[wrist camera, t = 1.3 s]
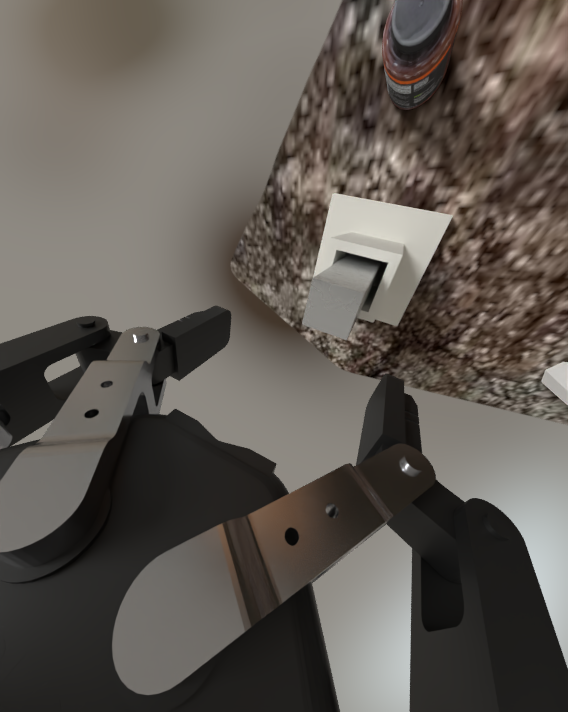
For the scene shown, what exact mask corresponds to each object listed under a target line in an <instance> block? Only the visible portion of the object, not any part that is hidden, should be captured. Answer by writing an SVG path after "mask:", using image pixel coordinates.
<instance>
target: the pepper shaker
mask: <svg viewBox="0 0 568 712" xmlns="http://www.w3.org/2000/svg"><path fill="white" fill-rule="evenodd" d="M541 382H542V383H543V384H544V385H545V386H546V387H547V388H549V389H550V390H551V391H552V392H553V393H554V394H555V395H556V396H558V397H559V398H560V399H561V400H562V401H563V402H564V403H565V404H567V405H568V362H562V363H560V364H557V365H555V366H553V367H551V368H549V369H547V370H545V373H544V375H543V378H542V381H541Z"/></svg>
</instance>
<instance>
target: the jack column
mask: <svg viewBox="0 0 568 712" xmlns="http://www.w3.org/2000/svg"><path fill="white" fill-rule="evenodd" d="M382 262H383V261H379V260H375V259H371V258H367V257H363V256H359V255H355V254H351V253H350V254H349V255H347V256H345V257H344V258H342V259H341V260H339V261H338V262H336V263H335V264H333V265H332V266H330V267H329V268H327V269H326V270H324V271H323V272H321V273H320V274H318V275H317V276H315V277H314V278H313V279H312V283H311V288H310V292H309V296H308V300H307V305H306V309H305V313H304V318H303V322H302V325H305V326H308V327H311V328H314V329H317V330H319V331H322V332H325V333H328V334H331V335H333V336H336V337H339V338H342V339H345V340H347V339H348V337H349V334H350V332H351V330H352V328H353V326H354V324H355V322H356V320H357V318H358V316H359V314H360V311H361V309H362V307H363V305H364V303H365V301H366V299H367V297H368V295H369V293H370V290H371V288H372V286H373V284H374V282H375V280H376V277H377V275H378V272H379V269H380V267H381V264H382Z"/></svg>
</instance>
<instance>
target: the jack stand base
mask: <svg viewBox="0 0 568 712" xmlns="http://www.w3.org/2000/svg"><path fill="white" fill-rule="evenodd" d="M452 217H453V215H448V214H443V213H437V212H432V211H427V210H421V209H416V208H411V207H405V206H400V205H395V204H389V203H384V202H379V201H373V200H368V199H363V198H357V197H352V196H347V195H341V194H336V193H333V195H332V199H331V203H330V207H329V212H328V216H327V220H326V225H325V229H324V233H323V238H322V242H321V246H320V250H319V255H318V259H317V263H316V268H315V272H314V276H313V278H314V277H315V276H317V275H318V274H320V273H321V272H323V271H324V270H326V269H327V268H329V267H330V266H332V265H333V264H335V263H336V262H338V261H339V260H341V259H342V258H344V257H345V256H347V255H349V254H350V253H351V254H355V255H359V256H363V257H367V258H371V259H375V260H379V261H383V262H382V264H381V267H380V269H379V272H378V275H377V277H376V280H375V282H374V284H373V286H372V288H371V290H370V293H369V295H368V297H367V299H366V301H365V303H364V305H363V307H362V309H361V311H360V314H359V316H358V318H360V319H363V320H366V321H369V322H372V323H374V321H375V319H376V320H379V321H382V322H385V323H388V324H391V325H394V326H398V324H399V322H400V320H401V318H402V316H403V314H404V312H405V310H406V308H407V306H408V304H409V302H410V300H411V298H412V296H413V294H414V292H415V290H416V288H417V286H418V284H419V282H420V280H421V278H422V276H423V274H424V272H425V270H426V268H427V266H428V264H429V262H430V260H431V258H432V256H433V254H434V252H435V250H436V248H437V246H438V244H439V242H440V240H441V238H442V236H443V234H444V232H445V230H446V228H447V227H448V225H449V223H450V221H451V219H452Z"/></svg>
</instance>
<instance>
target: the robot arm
mask: <svg viewBox="0 0 568 712" xmlns="http://www.w3.org/2000/svg"><path fill="white" fill-rule="evenodd" d="M230 325H231V312H230V311H229V310H226V309H224V308H221V307H219V306H214V307H212V308H210V309H207V310H205V311H201V312H196V313H193V314H191V315H188V316H187V317H184V318H182V319H180V321H179V320H177V321H175V322H173V323H171V324H169V325H167V326H164V327H162V328H160V329H158V330H156V329H153V328H149V327H136V328H131V329H128V330H126V331H125V332H123V333H122V332H117V331H112V330H110V329H109V325H108V322H107V320H106V319H104V318H101V317H96V316H85V317H79V318H75V319H72V320H69V321H66V322H63V323H60V324H57V325H54V326H51V327H48V328H45V329H42V330H40V331H36V332H33V333H31V334H28V335H25V336H22V337H19V338H16V339H13V340H10V341H7V342H4V343H1V344H0V712H340V709H339V705H338V700H337V696H336V691H335V687H334V682H333V677H332V673H331V668H330V664H329V659H328V655H327V650H326V646H325V641H324V636H323V632H322V628H321V623H320V618H319V614H318V609H317V604H316V600H315V595H314V591H313V586H312V583H313V582H314V581H316V580H317V579H318V578H319V577H321V576H322V575H323V574H324V573H326V572H327V571H328V570H329V569H331V568H332V567H333V566H335V565H336V564H337V563H338V562H339V561H341V560H342V559H343V558H344V557H345V556H347V555H348V554H349V553H350V552H352V551H353V550H354V549H356V548H357V547H358V546H359V545H361V544H362V543H363V542H364V541H366V540H367V539H368V538H369V537H371V536H372V535H373V534H374V533H376V532H377V531H378V530H379V529H381V528H382V527H383V526H385V525H386V524H387V525H388V526H389V527H390V528H391V529H392V530H394V531H395V532H396V533H397V534H398V535H399V536H400V537H401V538H402V539H403V540H404V541H405V542H406V543H407V544H408V545H410V546H411V547H412V597H411V598H412V599H411V600H412V601H411V602H412V603H411V660H410V661H411V662H410V712H568V668H567V665H566V662H565V659H564V657H563V653H562V651H561V648H560V645H559V642H558V639H557V636H556V633H555V630H554V627H553V624H552V621H551V618H550V615H549V612H548V609H547V606H546V603H545V600H544V597H543V594H542V591H541V588H540V585H539V583H538V579H537V576H536V573H535V570H534V567H533V564H532V562H531V559H530V556H529V553H528V550H527V547H526V544H525V541H524V539H523V537H522V535H521V533H520V532H519V530H518V529H517V527H516V526H515V525H514V523H513V522H512V521H511V520H510V519H509V518H508V517H507V516H506V515H505V514H504V513H503V512H501V510H499V509H498V508H497V507H495V506H494V505H492V504H491V503H489V502H487V501H485V500H482V499H478V498H472V499H469V500H468V501H466V502H464V501H463V500H461V499H460V498H459V497H457V496H456V495H454V494H453V493H452V492H451V491H449V490H448V489H447V488H445V487H444V486H443V485H442V484H440V483H439V482H438V481H437V480H436V475H435V471H434V469H433V466H432V465H431V463H430V462H429V461H428V459H427V458H426V457H425V456H424V455H423V454H422V448H421V438H420V428H419V417H418V408H417V405H416V403H415V401H414V399H413V398H412V396H410V395H408V394H405V393H404V381H403V380H401V379H399V378H396V377H394V376H391V375H389V374H385V375H384V376H383V378H382V379H381V381H380V383H379V384H378V386H377V388H376V389H375V391H374V393H373V394H372V396H371V398H370V400H369V402H368V404H367V407H366V412H365V417H364V423H363V428H362V434H361V440H360V446H359V452H358V457H357V463H356V466H354V467H353V466H352V464H350V463H349V464H345V465H343V466H341V467H339V468H337V469H335V470H333V471H332V472H330V473H328V474H326V475H324V476H322V477H320V478H318V479H316V480H314V481H312V482H310V483H309V484H307V485H305V486H303V487H301V488H299V489H297V490H295V491H293V492H291V493H290V494H289V493H288V491H287V489H286V488H285V486H284V484H283V483H282V482H281V481H280V479H279V478H278V477H277V476H276V475H275V474H274V470H275V467H276V463H274V462H272V461H270V460H269V459H267V458H265V457H263V456H261V455H260V454H258V453H256V452H254V451H252V450H250V449H248V448H244V447H240V446H236V445H232V444H228V443H224V442H221V441H218V440H217V439H215V438H214V437H213V436H212V435H211V434H210V433H209V432H208V431H207V430H206V429H205V428H204V426H202V424H200V423H199V422H198V421H197V420H195V419H193V418H191V417H190V416H188V415H186V414H184V413H182V412H181V411H179V410H177V409H174V410H173V411H172V412H171V413H170V414H168V415H161V414H159V413H160V408H161V403H162V400H163V396H164V391H165V387H166V378H167V377H169V376H171V377H173V378H175V379H177V380H179V381H180V380H181V379H182V378H184V377H185V376H186V375H187V374H189V373H190V372H191V371H193V370H194V369H195V368H197V367H199V366H200V365H201V364H203V363H204V362H205V361H207V360H208V359H209V358H211V357H212V356H213V355H215V354H216V353H217V352H219V351H220V350H221V349H223V348H224V347H225V346H226V345H227V343H228V341H229V338H230ZM75 353H76V356H77V358H78V361H79V363H80V367H78V368H76V369H74V370H72V371H70V372H68V373H66V374H64V375H62V376H60V377H58V378H56V379H54V380H52V381H50V382H47V381H46V379H45V377H44V372H45V370H46V368H47V367H48V366H49V365H51V364H53V363H55V362H57V361H60V360H62V359H64V358H66V357H68V356H71V355H73V354H75ZM53 419H54V420H53ZM52 420H53V422H52V423H51V425H50V426H49V428H48V429H47V431H46V432H45V434H44V435H43V437H42V438H41V439H39V440H36V441H31V442H27V443H23V444H19V445H15V446H12V445H13V444H15V443H17V442H18V441H20V440H21V439H22V438H24V437H26V436H28V435H29V434H31V433H32V432H34V431H36V430H37V429H39V428H40V427H42V426H44V425H45V424H47V423H48V422H50V421H52ZM10 446H11V447H10Z"/></svg>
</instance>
